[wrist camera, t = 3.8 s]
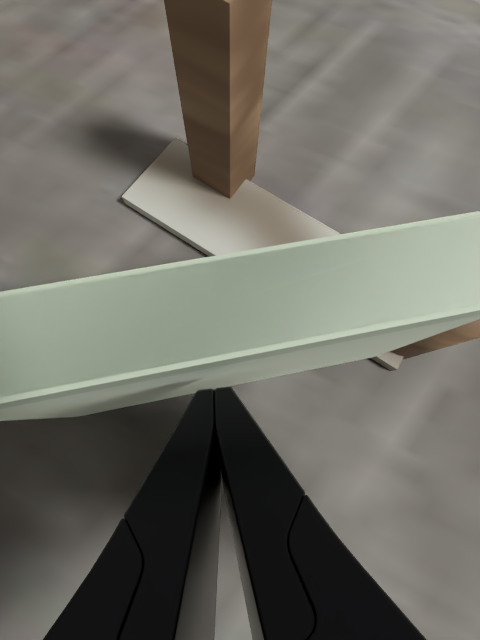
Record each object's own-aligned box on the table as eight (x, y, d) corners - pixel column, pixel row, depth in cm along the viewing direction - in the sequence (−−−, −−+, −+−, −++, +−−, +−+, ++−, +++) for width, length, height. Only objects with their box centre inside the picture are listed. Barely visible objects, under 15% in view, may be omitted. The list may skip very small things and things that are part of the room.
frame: (404, 379, 15) (637, 339, 6) (125, 203, 17) (18, -5, 9) (450, 288, 16) (696, 155, 8) (186, 135, 19) (147, -105, 10)
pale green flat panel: (361, 316, 15) (522, 204, 7) (374, 359, 14) (566, 293, 6) (74, 371, 14) (-155, 317, 6) (77, 419, 13) (-169, 436, 5)
